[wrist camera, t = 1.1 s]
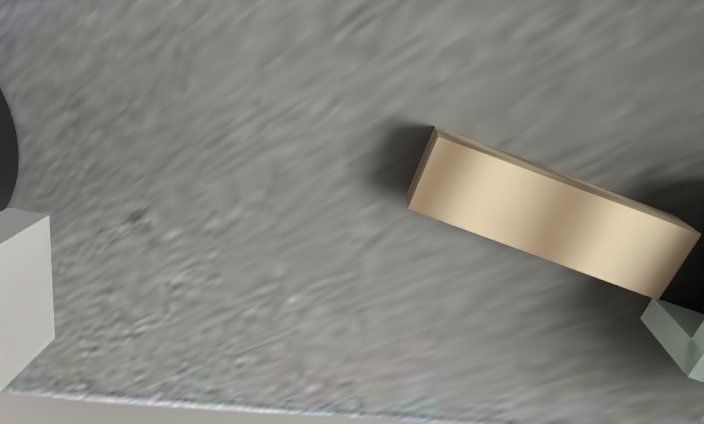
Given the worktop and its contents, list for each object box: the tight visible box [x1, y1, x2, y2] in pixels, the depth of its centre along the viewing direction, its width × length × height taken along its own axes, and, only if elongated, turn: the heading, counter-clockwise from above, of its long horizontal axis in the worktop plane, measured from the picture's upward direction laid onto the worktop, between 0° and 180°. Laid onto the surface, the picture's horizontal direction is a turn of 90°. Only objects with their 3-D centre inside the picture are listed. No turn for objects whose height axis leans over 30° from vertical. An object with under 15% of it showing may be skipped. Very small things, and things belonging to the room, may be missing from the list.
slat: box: [407, 126, 701, 300], centre depth 28 cm, size 14×4×3 cm, turn 70°
